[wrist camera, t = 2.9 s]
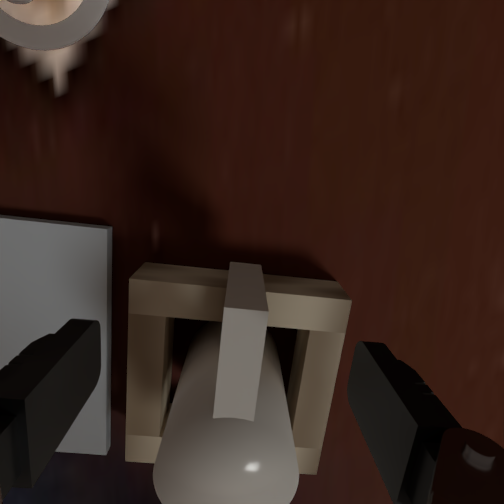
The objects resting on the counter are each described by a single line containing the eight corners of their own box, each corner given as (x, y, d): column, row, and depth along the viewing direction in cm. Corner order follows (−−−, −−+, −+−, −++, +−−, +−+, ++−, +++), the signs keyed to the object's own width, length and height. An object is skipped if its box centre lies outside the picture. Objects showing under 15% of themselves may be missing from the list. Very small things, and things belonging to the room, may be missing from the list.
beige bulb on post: (269, 410, 24) (284, 553, 15) (184, 403, 24) (149, 545, 15) (293, 252, 21) (329, 317, 12) (196, 241, 21) (161, 301, 12)
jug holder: (337, 281, 21) (351, 300, 19) (307, 437, 24) (316, 474, 22) (145, 262, 21) (129, 278, 18) (139, 424, 24) (125, 461, 21)
